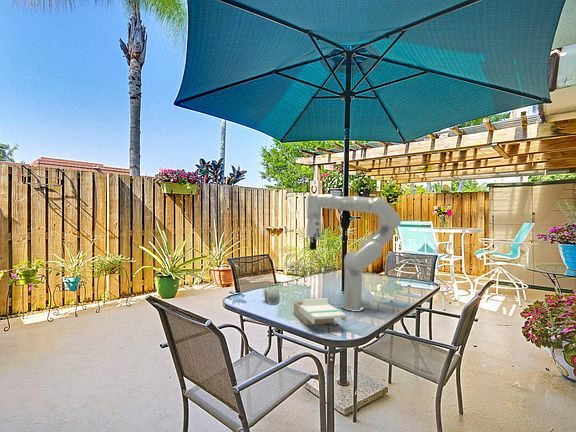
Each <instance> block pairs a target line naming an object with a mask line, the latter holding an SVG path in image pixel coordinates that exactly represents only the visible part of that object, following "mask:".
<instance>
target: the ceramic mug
mask: <svg viewBox="0 0 576 432" xmlns="http://www.w3.org/2000/svg"><path fill="white" fill-rule="evenodd" d="M264 302H265V303H267V304H269V306H270V305H271V306H275V305H277V304H278V303H279V302H280V289H279V288H271V289H270V288H269V289H266V290H264Z"/></svg>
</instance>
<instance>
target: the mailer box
mask: <svg viewBox="0 0 576 432" xmlns="http://www.w3.org/2000/svg"><path fill="white" fill-rule="evenodd" d="M299 305H302V301H294V302H293V315H294V316H295V317H297V318H298V319H299V320H300V321H301V322H302V324H304V325H305V326H316V324H318V325H326V324H325V323H331V324H335V318H327V319H314V324H313V323H312V322H311V321H309V320H308V319H307V318H306V317H305V316H304V315H303V314H301V313H300V312H299Z"/></svg>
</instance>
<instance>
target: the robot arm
mask: <svg viewBox="0 0 576 432" xmlns="http://www.w3.org/2000/svg"><path fill="white" fill-rule="evenodd" d="M306 206H307V208H306V209H307V210H306V211H307V213H306V216H307V217H306V219H307V224H306V225H307V226H306V235H307V236H308V239H309V250H311V251H316V250H317V243H318V240H319V238H321V237H322V221H321V218H322V216H321V215H322V208H324V209H330V210H337V211H338V210H340V211H341V210H342V211H348V212H356V213H357V212H360V213H369V214H376V215H377V216H378V217H379V218H378V229H377V230H376V231H375V232H374V233H373V234H372V235H371V236H370V237H368V238H367V239H365V240H364V241H363V242H361V245H360V247H359V250H357V251H356V250H355V251H354V250H353V251H348V252H346V254H345V256H344V257H343V258H344V259H343V266H344V281H343V282H344V287H343V288H344V289H343V304H341V305H340V308H341V307H342V308H344V309H347V310H360V308H361V307H364V306H370V301H365V300H363V299H362V298H363V297H362V292H363V291H362V290H363V270H365V269H366V268H368V267H370V265H372V264H373V263H374V262H376V261H377V260H378V259H379V258H380V257H381V255H382V254H383V252H384V251H383V250H384V249H383V247H385V246H386V244H387V243H389V242H390V241H391V240H392V238H393V236H394V235H393V233H394V229H397V228H398V227H399V226H400V225H401V222H402V219H401V216H400V214H399V213H397V211H396V210H395V209H394V208H393V207H392V206H391V205H390V203H388V202H387V200H386V199H384V198H383V197H381V196H377V197H368V196H367V197H366V196H358V195H348V196H335V195H333V194H332V193H324V194H318V193H310V194H308V195H307V205H306ZM342 308H341V309H342ZM347 310H346V311H347Z"/></svg>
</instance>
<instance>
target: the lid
mask: <svg viewBox="0 0 576 432" xmlns="http://www.w3.org/2000/svg"><path fill="white" fill-rule="evenodd" d="M301 302H302V305H299V312H300V313H301V314H303V315H304V316H305V317H306V318H307V319H308V320H309V321H311V322H312V323H313V324H314V319H327V318H334V319H337V318H338V319H341V320H343V321H344V322H347V314H346V313H345V312H343V311H341V310H339V309H338V308H336V307H335V306H333V305H332V304H330V303H329V298H328V297H324V298H323V297H321V298H305V299H304V298H303V299H302V301H301Z"/></svg>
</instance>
